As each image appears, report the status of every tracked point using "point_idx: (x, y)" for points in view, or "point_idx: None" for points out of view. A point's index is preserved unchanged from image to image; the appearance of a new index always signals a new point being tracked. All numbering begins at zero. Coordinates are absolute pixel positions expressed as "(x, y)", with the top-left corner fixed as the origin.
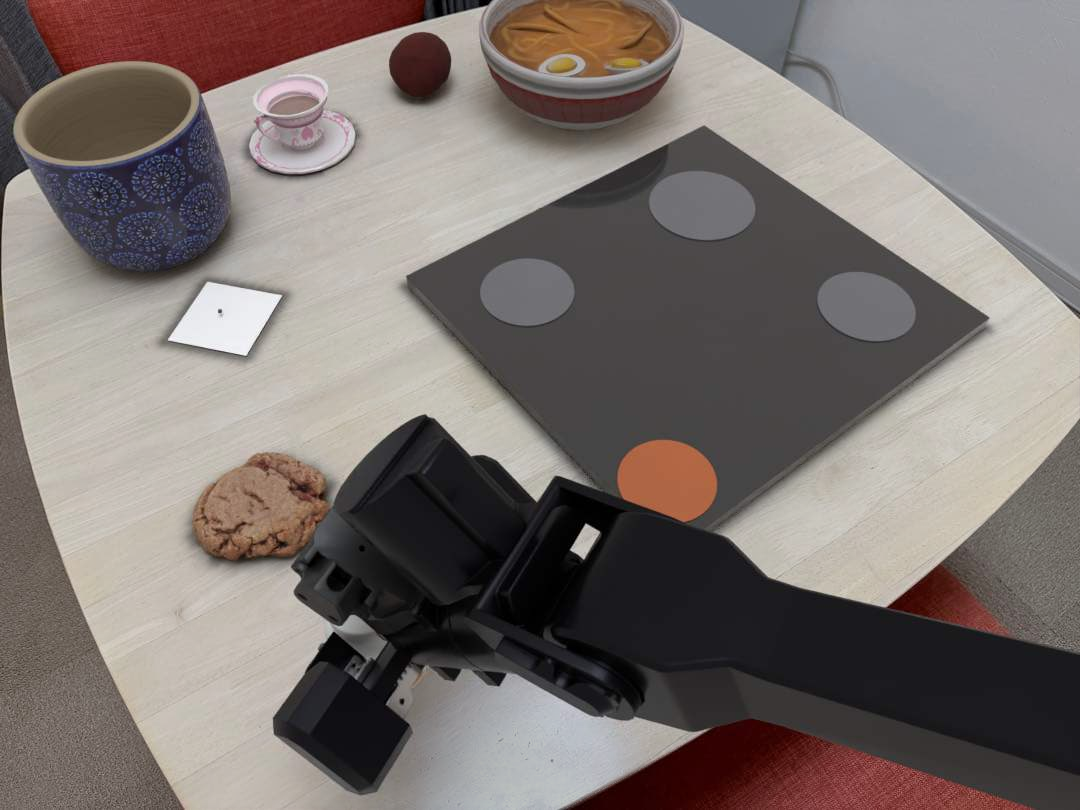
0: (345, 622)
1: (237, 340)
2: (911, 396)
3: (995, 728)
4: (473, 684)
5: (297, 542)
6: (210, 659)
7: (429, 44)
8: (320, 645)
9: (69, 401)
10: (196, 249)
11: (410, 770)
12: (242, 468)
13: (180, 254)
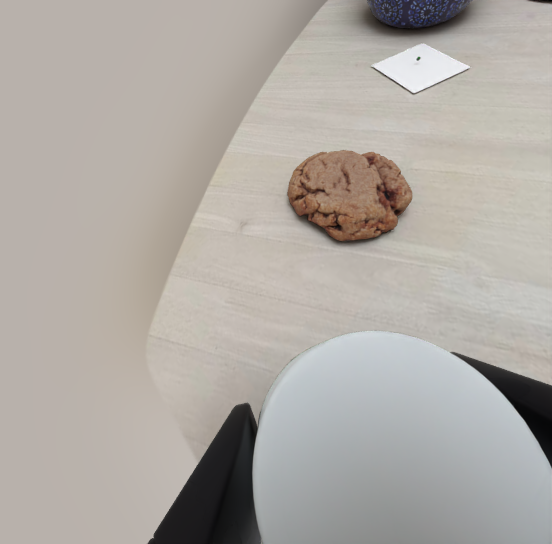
0: (284, 502)
1: (415, 82)
2: None
3: None
4: None
5: (350, 233)
6: (231, 269)
7: None
8: (240, 409)
9: (293, 76)
10: (434, 10)
11: None
12: (354, 152)
13: (421, 7)
